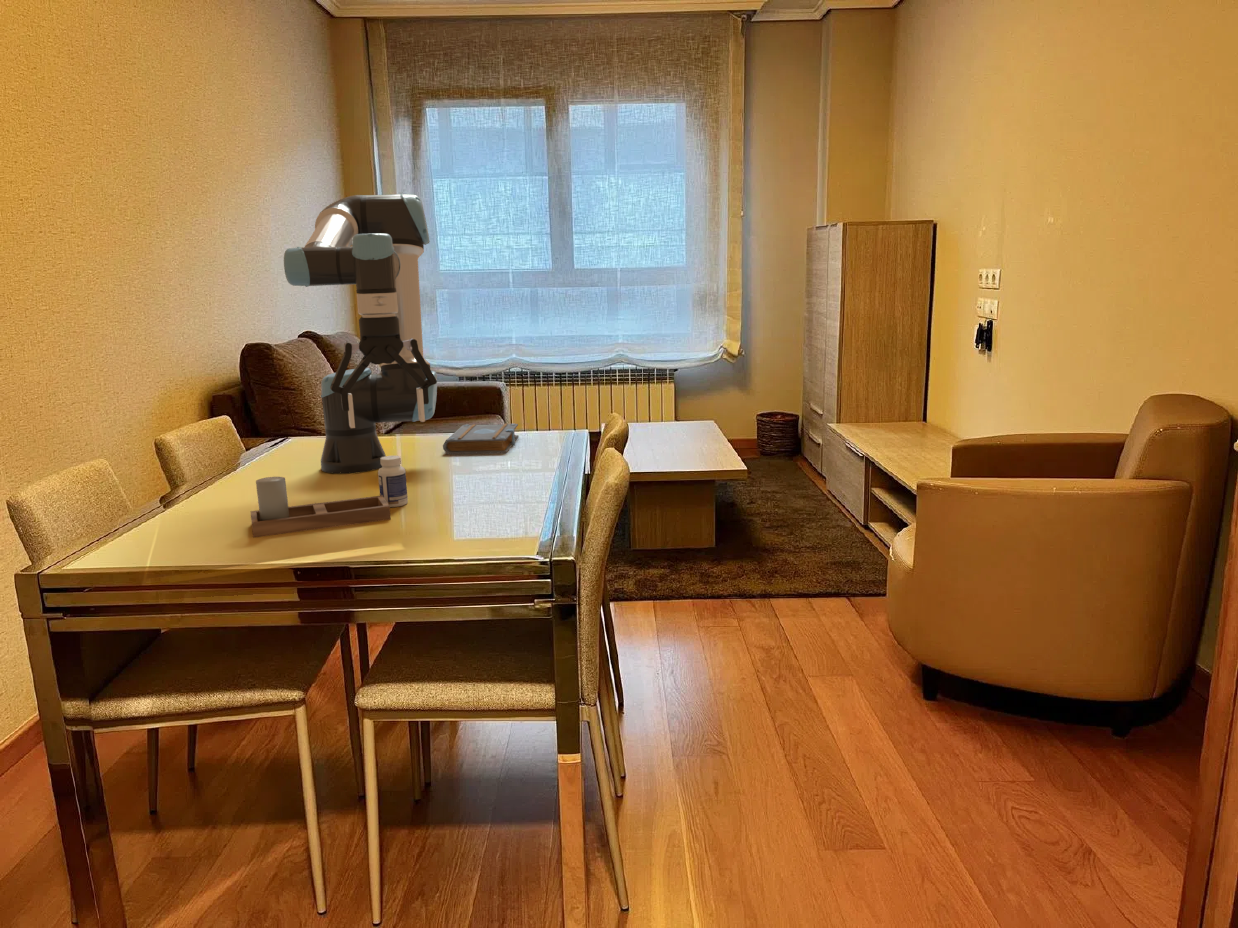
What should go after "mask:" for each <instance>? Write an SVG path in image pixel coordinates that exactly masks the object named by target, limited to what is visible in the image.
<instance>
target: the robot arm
mask: <svg viewBox="0 0 1238 928" xmlns="http://www.w3.org/2000/svg"><path fill="white" fill-rule="evenodd" d="M425 214H426V213H425V209H424V206H423V201H422V199H421V198H420V197H419V196H418V195H416V194H404V193H399V194H398V193H397V194H396V193H395V194H365V195H363V194H355V195H354V194H353V195H349V196H347V197H342V198H341V199H338V200H335V201H334V202H332V203H330V204H329V205H327V206H326V207H324V208H323V209H322V211H320V212H319V214H318V215H317V217H316V219H315V223H314V231H313V232H312V233H311V236H310V237H309V239H308V240H307V242H306V244H305V245H304V246H296V247H291V248H289V247H288V248H287V249H285V251H284V253H283V269H284V274H285V275H284V276H285V277H286V281H287V282H288V284H289V285H291V286H293V287H295V286H296V287H305V288H306V287H317V286H321V287H322V286H342V285H343V286H344V285H346V286H350V285H355V288H356V303H357V304H356V305H357V314H358V315H360V316H361V317H359V319H358V325H359V328H358V329H359V339H360V340H359V342H358V343H350V342H347V341H346V342H345V343H344V344H343V355H342V357H341V359H340V363H339V365H338V367H337V369H336V372H333V373H329V374H327V375H325V376H324V377H323V378H322V379H321V381H320V386H321V387H320V388H321V393H320V394H321V395H320V398H321V400H322V403H321V404H322V412H323V421H324V431H325V441H324V444H323V449H322V454H321V458H320V467H321V468H320V469H321V471H323V472H324V473H329V474H358V473H365V472H370V471H371V472H372V471H376V470H379V469H380V468H382V466H381V464H380V458H382V457H385V456H387V455H386V453H385V451H384V448H383V445H382V444H381V441H380V439H379V437H378V434H377V426H376V423H379V424H380V423H397V422H398V423H401V422H412V423H413V422H418V421H420V423H424V422H426V421H427V420H430V419H431V418H433V416H434V414H435V410H436V403H437V395H438V394H437V393H438V374H437V371H435V370H431V363H430V362H429V361H427V360H426V359H425V356H424V346H423V345H424V343H423V328H422V327H423V326H422V310H421V307H422V306H421V292H420V290H421V289H420V276H419V275H420V274H419V272H420V271H419V258H420V257H421V256H422V255H423V253H424V252H425V248H424V245H425V246H427V244H430V242H431V241H430V233H429V229H428V226H427V225H428V223H427V220H426V215H425ZM357 350H358V351H360V352H361V354H363V357H362V358H361V359H360V361H359V363H358V364H357V366H356V367H355V368H352V369H348V366H349V364H350V361H351V358H352V356H353V355H355V353H356V351H357ZM371 364H373V365H375V366H377V365H380V373H372V372H373V371H372V369H371V368H370V367H368V366H369V365H371Z"/></svg>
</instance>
